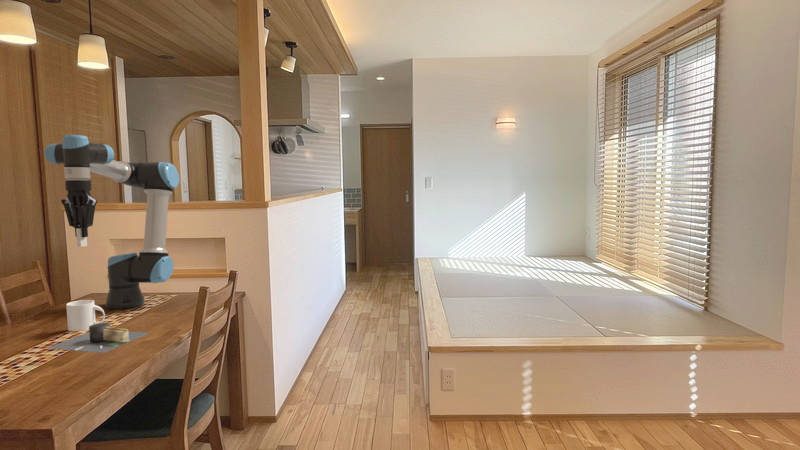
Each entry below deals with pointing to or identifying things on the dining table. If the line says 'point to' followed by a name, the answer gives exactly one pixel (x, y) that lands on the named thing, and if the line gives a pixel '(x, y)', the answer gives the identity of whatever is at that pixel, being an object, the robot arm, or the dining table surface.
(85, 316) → the mug
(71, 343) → the gauge board
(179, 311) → the dining table surface
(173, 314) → the dining table surface
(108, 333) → the dial lever
